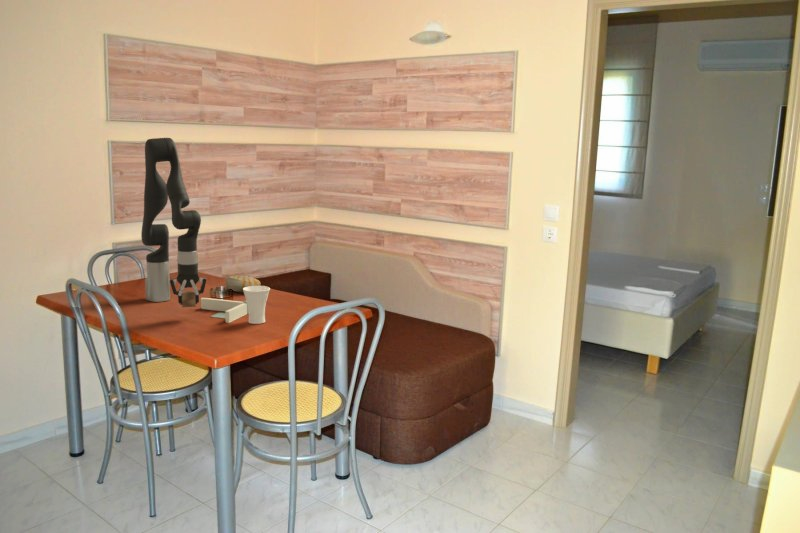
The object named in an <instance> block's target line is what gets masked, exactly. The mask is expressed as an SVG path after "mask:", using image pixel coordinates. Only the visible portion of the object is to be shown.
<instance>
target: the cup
mask: <svg viewBox="0 0 800 533" xmlns="http://www.w3.org/2000/svg"><path fill="white" fill-rule="evenodd" d="M270 290H271V288H270V287H269V286H267V285H266V286H265V285H260V286H248V287H244V288H243V291H244V292H243V294H244V297H245V300H246V301H247V304H248V310H249V314H248V323H249V324H254V325H259V324H263V323H266V306H267V305H266V304H267V300H268V297H269V293H270Z"/></svg>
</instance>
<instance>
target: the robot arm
mask: <svg viewBox="0 0 800 533" xmlns="http://www.w3.org/2000/svg"><path fill="white" fill-rule="evenodd" d="M144 160H145V161H144V162H145V164H144V165H145V178H144V190H143V191H144V192H143V216H142V217H143V220H142V226H141V233H140V234H141V236H140V237H141V242H142V244H143V245H144V246H145V247H146V246H147V247H155V246H159V248H158V249H156V250H155V251H152V252H150V253H147V254H146V257H145V260H146V261H145V262H146V278H145V279H144V283H145V284H144V286H145V300H146V301H149V302H154V303H156V302H157V303H158V302H159V303H160V302H166V301H169V300H171V289H172V293H173V295H177V297H178V298H177V299H178V300H177V301H178V304H179V305H180V306H182V292H184V290H185V288H186V289H187V288H190V289H191V288H192V289H193V291H195V299H196V305H198V303H199V301H200V297H199V296H200V295H201V294H204V292H205V287H206V284H207V283H206V282H207V278H206V277H200V276H199V259H198V248H197V247H198V246H197V245H198V244H197V242H198V241H197V240H198V236H199V232H200V228H201V224H202V216H201V214H200V213H199V212H198V211H197V210H194V209H191V210H182V209H183V208H187V207H189V205H190V198H189V195H188V191H187V188H186V187H185V184H184V180H183V175H182V170H181V169H182V168H181V165H180V159H179V154H178V150H177V146H176V144H175V141H174V140H173V139H172V138H171V137H158V138H157V137H155V138H154V137H153V138H148V139H147V140H146V141H145V145H144ZM162 162H163V163H164V162H169V164H170V171H169V175H168V178H167V181H165V180H164V179H163V178H162V176H161V175H160V174H159V172H158V170H157V163H162ZM168 200H169V203H170V205H171V222H172V223H171V224H172V226H173V227H174V228H175V229H176V230H187V232H186V233H183V234H182V235H181V234H180V235H178V237H177V256H176V257H177V258H176V259H177V260H176V262H177V276H176V277H175V278H170V253H169V252H170V250H169V245H170V244H169V242H170V233H169V232H170V231H169V228H168V225H167V224H165V223H156V224H155V223H154V220H155V219H156V218H157V216H158V215H159V214H161V212H162V211H163V210H164V209H165V207H166V206H167V204H168ZM199 281H200V284H201V285H200V289H198V286H197V284H198V282H199ZM177 283H178V284H180V287H179V289H178V290H177V289H176V284H177Z"/></svg>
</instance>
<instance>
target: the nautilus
mask: <svg viewBox="0 0 800 533" xmlns="http://www.w3.org/2000/svg"><path fill="white" fill-rule="evenodd" d="M226 276H227V277H225V287H226V288H227V287H229V288H231V289H232V290H233V291H232V290H231V291H232V292H235V293H244V291H243V288H244V287H248V286H262V285H261V284H262V283H261V281H260V280H259V279H257V278H255V277H252V276H245V275H238V274H233V275H229V274H227V275H226Z"/></svg>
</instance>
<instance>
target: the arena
mask: <svg viewBox="0 0 800 533" xmlns="http://www.w3.org/2000/svg"><path fill="white" fill-rule="evenodd" d="M200 306H201V308H200V309H201V310H209V311H216V312H217V311H218V312H217V313H214V314H213V315H210V316H209V317H210V318H216V319H225V323H228V324H230V323H231V322H234V321H235V320H238V319H240V318H241V317H243V316H247V315H249V310H248V304H247V301H246V299H245V300H243V301H239V300H238V301H237V300H229V299H219V298H210V297H209V298H208V297H201V298H200Z"/></svg>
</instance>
